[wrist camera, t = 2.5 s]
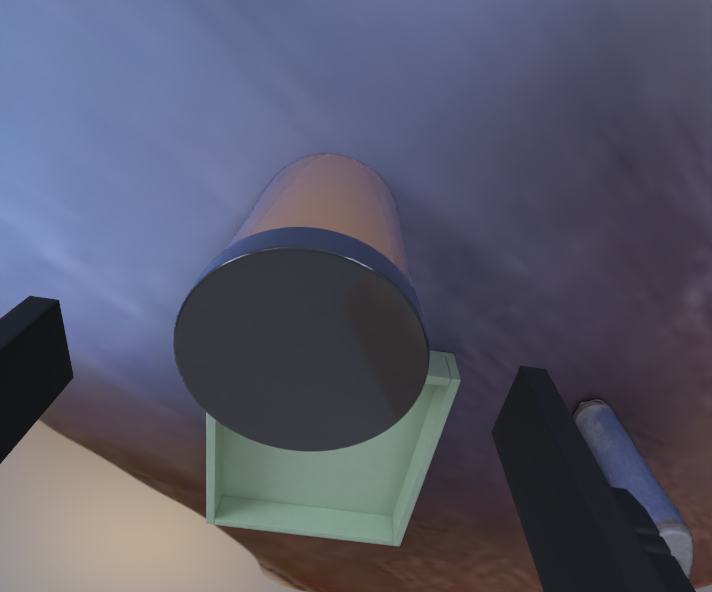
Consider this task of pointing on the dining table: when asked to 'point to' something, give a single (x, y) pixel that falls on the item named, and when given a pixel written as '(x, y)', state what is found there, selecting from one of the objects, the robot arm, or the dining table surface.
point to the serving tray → (331, 474)
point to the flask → (633, 475)
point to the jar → (308, 315)
